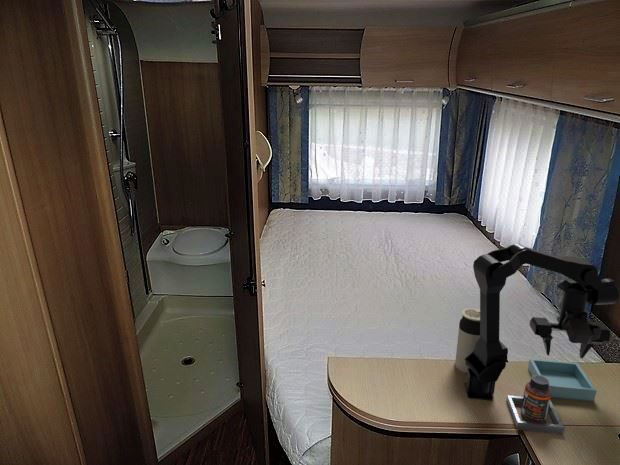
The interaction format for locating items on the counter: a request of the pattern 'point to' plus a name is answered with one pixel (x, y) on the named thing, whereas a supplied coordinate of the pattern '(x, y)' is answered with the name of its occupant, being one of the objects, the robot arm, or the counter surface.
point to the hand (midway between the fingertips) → (564, 356)
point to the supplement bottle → (536, 399)
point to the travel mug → (467, 336)
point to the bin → (564, 379)
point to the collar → (534, 426)
